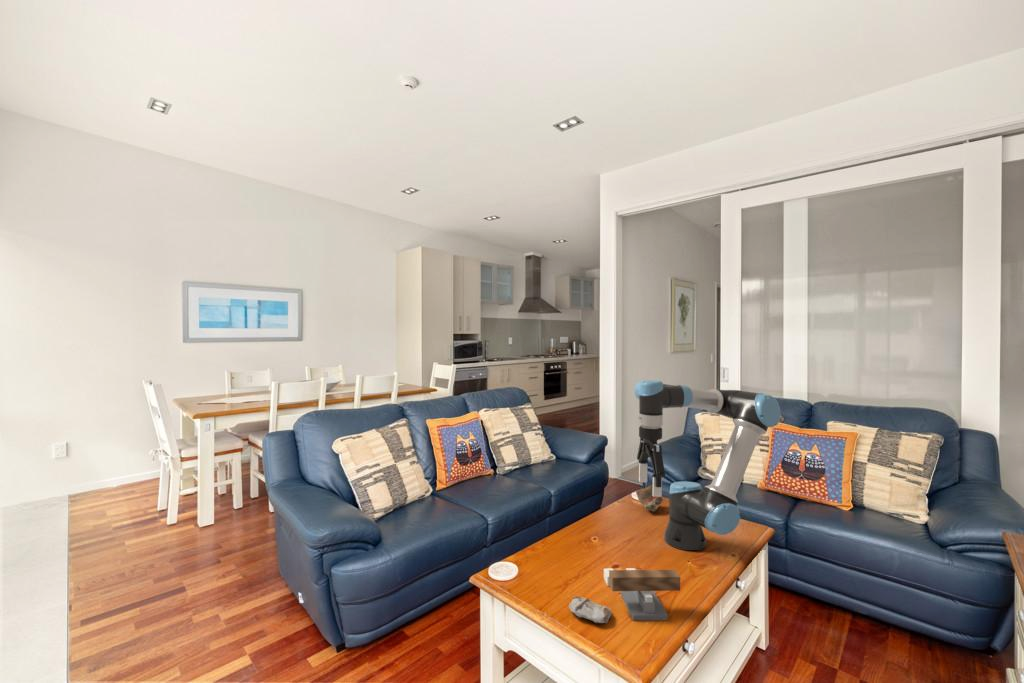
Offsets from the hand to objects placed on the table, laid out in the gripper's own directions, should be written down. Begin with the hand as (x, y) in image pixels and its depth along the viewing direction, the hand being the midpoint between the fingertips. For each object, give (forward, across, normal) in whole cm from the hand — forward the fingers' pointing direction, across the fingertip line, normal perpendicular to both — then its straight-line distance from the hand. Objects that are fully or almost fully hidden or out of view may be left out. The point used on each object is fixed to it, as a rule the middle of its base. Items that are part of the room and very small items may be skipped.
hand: (649, 488), depth 148 cm
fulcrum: (+29, +18, -8) cm, 35 cm away
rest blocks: (+29, +5, -11) cm, 31 cm away
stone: (+29, +22, -25) cm, 44 cm away
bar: (+23, +18, -8) cm, 30 cm away
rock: (+29, -53, +19) cm, 63 cm away
